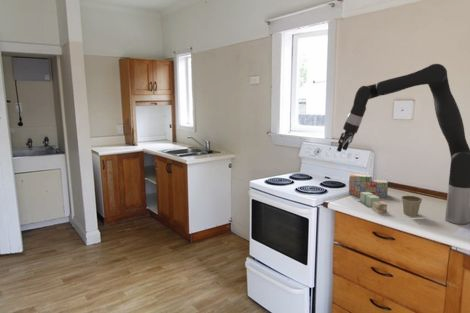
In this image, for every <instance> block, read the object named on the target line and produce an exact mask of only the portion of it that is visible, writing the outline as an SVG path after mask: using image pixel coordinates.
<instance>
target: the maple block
mask: <svg viewBox="0 0 470 313" xmlns="http://www.w3.org/2000/svg"><path fill="white" fill-rule="evenodd" d="M371 209H372V211H373V212H375V213H377V214H379V213H380V214H381V213H383V214H384V213H388V204H387V203H386V202H384V201H382V200H381V201H378V202H373V207H371Z"/></svg>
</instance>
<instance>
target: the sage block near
mask: <svg viewBox="0 0 470 313" xmlns="http://www.w3.org/2000/svg"><path fill="white" fill-rule="evenodd" d="M380 198H381V197H380V196H376V195H366V205H368V206H369V207H371V208H372V207H373V202H378V201H380Z"/></svg>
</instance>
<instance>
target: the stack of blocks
mask: <svg viewBox="0 0 470 313" xmlns="http://www.w3.org/2000/svg"><path fill="white" fill-rule="evenodd" d="M372 177H373V176H372V175H371V174H364V173H363V174H361V173H358V174H355V173H349V179H348V180H349V181H348V194H349V195H350V196H351V195H353V196H356V195H357V196H360V192H370V193H372V194H373V195H376V196H378V197H379V198H381V197H382V198H388V192H389V191H388V190H389V189H388V188H389V182H388V181H387V180H383V179H373V178H372Z"/></svg>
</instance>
